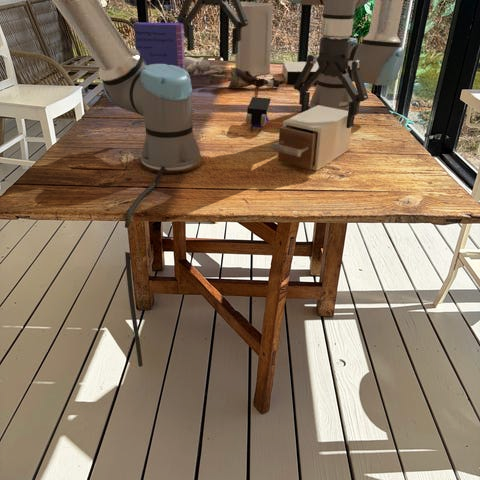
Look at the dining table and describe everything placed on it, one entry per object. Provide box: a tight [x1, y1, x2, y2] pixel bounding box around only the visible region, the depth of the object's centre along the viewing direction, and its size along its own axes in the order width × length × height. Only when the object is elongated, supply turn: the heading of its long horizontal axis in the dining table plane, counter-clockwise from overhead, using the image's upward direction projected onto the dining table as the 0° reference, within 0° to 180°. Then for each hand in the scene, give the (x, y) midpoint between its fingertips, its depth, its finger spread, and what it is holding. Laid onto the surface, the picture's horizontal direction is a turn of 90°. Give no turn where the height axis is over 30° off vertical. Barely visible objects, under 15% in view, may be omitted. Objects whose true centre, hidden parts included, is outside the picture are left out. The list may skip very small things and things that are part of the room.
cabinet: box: [282, 105, 352, 171], centre depth 127 cm, size 19×11×11 cm, turn 144°
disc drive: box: [281, 61, 318, 85], centre depth 207 cm, size 18×22×5 cm
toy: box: [185, 56, 223, 76], centre depth 211 cm, size 24×25×7 cm
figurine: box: [209, 66, 287, 89], centre depth 190 cm, size 24×8×30 cm
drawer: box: [269, 126, 318, 171], centre depth 122 cm, size 23×10×9 cm, turn 144°
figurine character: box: [245, 96, 272, 132], centre depth 148 cm, size 7×8×15 cm
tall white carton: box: [234, 1, 274, 77], centre depth 210 cm, size 19×15×28 cm
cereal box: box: [133, 21, 186, 70], centre depth 182 cm, size 17×5×24 cm, turn 86°
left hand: (212, 51), depth 136 cm, fingers open, 13 cm apart
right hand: (326, 122), depth 128 cm, fingers open, 13 cm apart
